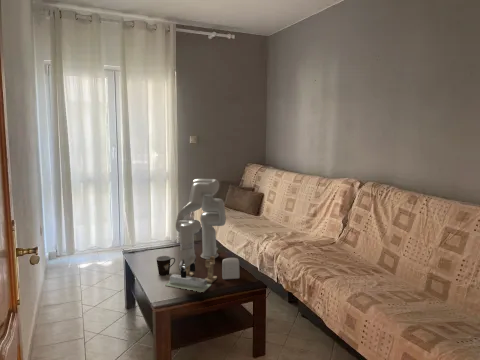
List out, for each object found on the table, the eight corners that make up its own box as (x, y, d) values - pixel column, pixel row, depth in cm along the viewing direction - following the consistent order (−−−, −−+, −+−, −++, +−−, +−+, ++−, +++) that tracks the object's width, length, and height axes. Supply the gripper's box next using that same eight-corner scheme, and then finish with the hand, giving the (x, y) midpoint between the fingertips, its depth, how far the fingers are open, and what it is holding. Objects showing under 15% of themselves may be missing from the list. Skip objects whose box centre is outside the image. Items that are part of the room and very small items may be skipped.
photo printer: (222, 279, 210) (222, 259, 209) (222, 277, 214) (221, 257, 213) (239, 279, 211) (239, 258, 210) (239, 276, 215) (238, 256, 214)
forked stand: (186, 273, 221) (185, 252, 219) (217, 278, 213) (216, 256, 211) (180, 277, 214) (179, 256, 212) (211, 282, 206) (211, 260, 204)
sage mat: (175, 279, 212) (175, 278, 211) (211, 285, 202) (211, 284, 202) (165, 285, 202) (165, 284, 202) (202, 292, 193) (202, 291, 193)
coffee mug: (157, 277, 215) (156, 261, 214) (156, 272, 223) (156, 256, 222) (176, 275, 218) (176, 259, 217) (175, 270, 226) (174, 254, 225)
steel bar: (173, 280, 208) (173, 273, 208) (207, 286, 200) (207, 279, 199) (169, 283, 205) (169, 276, 204) (203, 289, 196) (203, 282, 196)
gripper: (189, 239, 209) (190, 267, 211) (172, 249, 193) (174, 279, 196) (200, 241, 206) (201, 269, 209) (184, 251, 190) (185, 281, 193)
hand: (188, 274), depth 202 cm, fingers open, 9 cm apart
